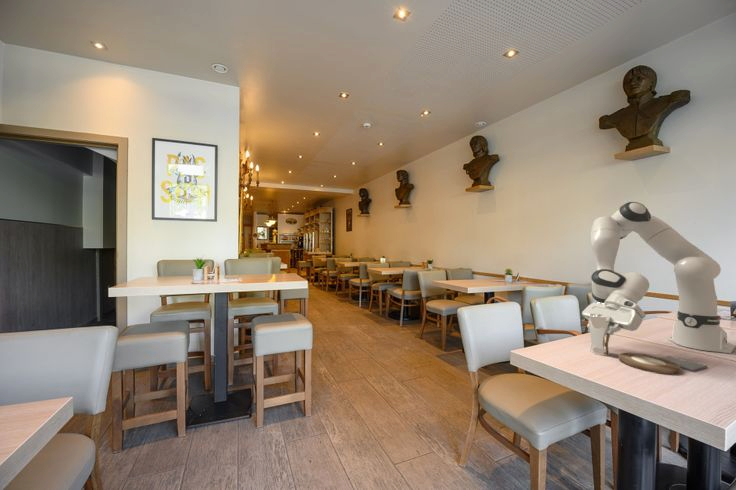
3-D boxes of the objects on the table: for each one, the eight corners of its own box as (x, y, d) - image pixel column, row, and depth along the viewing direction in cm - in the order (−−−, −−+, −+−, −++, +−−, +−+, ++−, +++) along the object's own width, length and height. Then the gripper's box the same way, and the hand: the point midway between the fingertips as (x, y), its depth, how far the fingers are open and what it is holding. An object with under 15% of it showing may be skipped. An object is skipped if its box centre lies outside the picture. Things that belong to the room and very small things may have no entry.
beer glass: (615, 356, 113) (615, 318, 113) (594, 355, 114) (594, 316, 114) (604, 350, 120) (604, 314, 120) (585, 349, 121) (585, 313, 121)
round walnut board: (633, 354, 116) (633, 350, 116) (690, 370, 101) (690, 365, 101) (609, 359, 110) (609, 355, 110) (665, 377, 95) (665, 372, 95)
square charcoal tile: (669, 357, 112) (669, 355, 112) (707, 367, 103) (707, 365, 103) (655, 361, 109) (655, 359, 109) (692, 371, 99) (692, 369, 99)
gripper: (590, 296, 129) (571, 319, 127) (641, 305, 109) (620, 332, 107) (598, 306, 130) (579, 329, 128) (650, 316, 109) (629, 344, 108)
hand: (598, 330), depth 117 cm, fingers closed on beer glass, 7 cm apart
